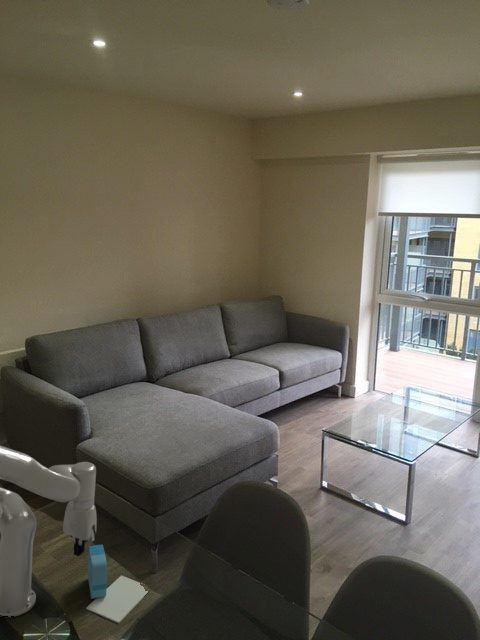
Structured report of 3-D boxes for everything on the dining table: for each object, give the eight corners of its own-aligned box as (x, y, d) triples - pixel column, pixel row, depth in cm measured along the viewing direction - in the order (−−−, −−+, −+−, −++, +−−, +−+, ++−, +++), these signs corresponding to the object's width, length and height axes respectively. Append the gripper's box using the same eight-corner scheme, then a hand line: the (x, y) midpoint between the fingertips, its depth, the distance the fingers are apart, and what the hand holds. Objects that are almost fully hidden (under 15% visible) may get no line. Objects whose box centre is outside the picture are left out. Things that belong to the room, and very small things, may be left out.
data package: (106, 598, 168) (107, 563, 166) (91, 601, 166) (91, 565, 165) (101, 575, 179) (102, 542, 177) (87, 578, 178) (88, 544, 176)
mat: (86, 609, 164) (86, 607, 163) (121, 576, 180) (121, 575, 180) (118, 623, 159) (118, 622, 159) (151, 589, 175) (151, 587, 175)
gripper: (55, 499, 171) (52, 552, 174) (93, 513, 165) (90, 567, 168) (71, 490, 177) (68, 540, 181) (108, 503, 172) (105, 555, 175)
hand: (78, 553), depth 174 cm, fingers closed
